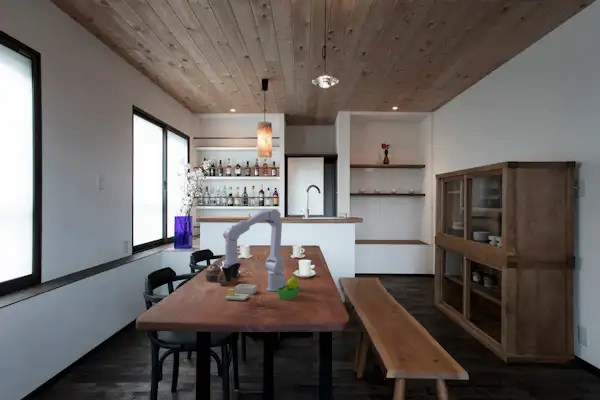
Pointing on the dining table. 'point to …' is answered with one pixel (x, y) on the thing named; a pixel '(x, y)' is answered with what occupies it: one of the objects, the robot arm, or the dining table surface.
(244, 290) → the tub
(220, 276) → the tin
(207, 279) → the cupcake
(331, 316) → the dining table surface
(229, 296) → the lid
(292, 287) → the fruit basket
